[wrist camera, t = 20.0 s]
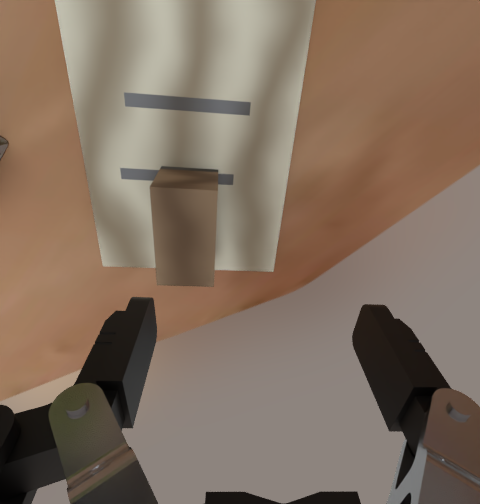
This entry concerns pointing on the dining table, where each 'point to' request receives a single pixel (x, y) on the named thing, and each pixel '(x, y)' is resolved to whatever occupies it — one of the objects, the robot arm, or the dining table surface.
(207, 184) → the block
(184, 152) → the board
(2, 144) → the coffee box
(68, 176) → the dining table surface
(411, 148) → the dining table surface
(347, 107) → the dining table surface
